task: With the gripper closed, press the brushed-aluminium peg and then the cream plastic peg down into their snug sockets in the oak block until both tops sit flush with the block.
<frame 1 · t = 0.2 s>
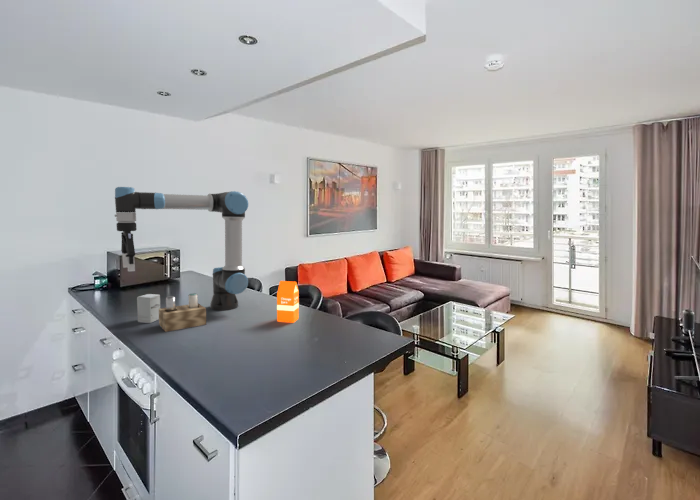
hand: (128, 269, 164), 28 cm above the counter, fingers open, 13 cm apart
supplement box: (149, 321, 181), on the counter
cream peg: (193, 302, 177), point 10 cm above the counter, slide at 6.0 cm
orange juice: (288, 320, 185), on the counter
oak socket block: (182, 324, 175), on the counter
aluminium peg: (170, 305, 170), point 10 cm above the counter, slide at 6.0 cm
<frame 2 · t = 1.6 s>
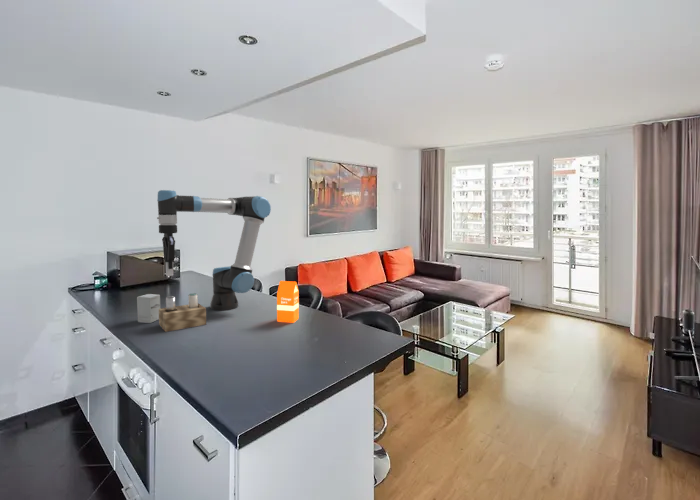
hand: (169, 275, 169), 24 cm above the counter, fingers closed
nothing on the counter moved.
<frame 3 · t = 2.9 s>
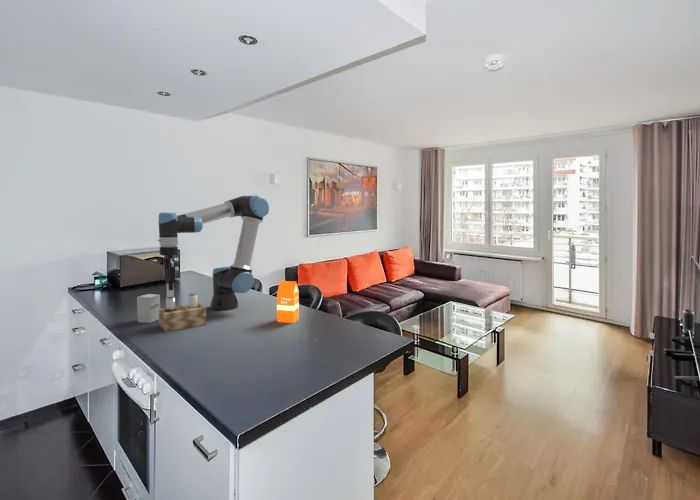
hand: (170, 296, 170), 14 cm above the counter, fingers closed
aluminium peg: (170, 305, 170), point 10 cm above the counter, slide at 5.9 cm, touching gripper
everything else where it was.
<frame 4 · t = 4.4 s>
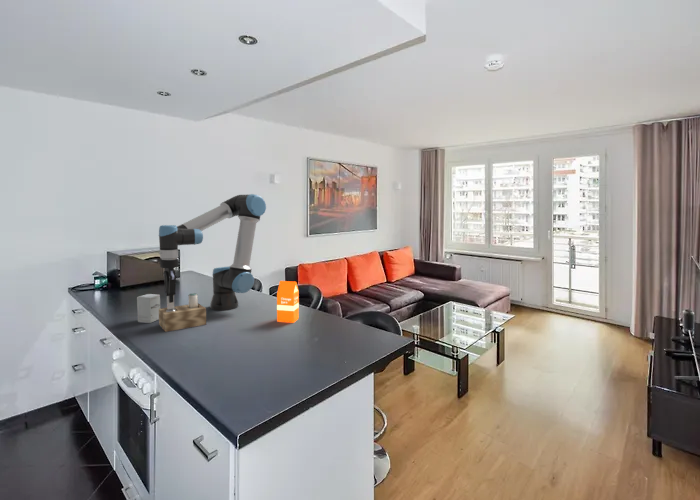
hand: (170, 308, 170), 9 cm above the counter, fingers closed
aluminium peg: (171, 317, 171), point 4 cm above the counter, slide at 0.1 cm, touching gripper
everything else where it was.
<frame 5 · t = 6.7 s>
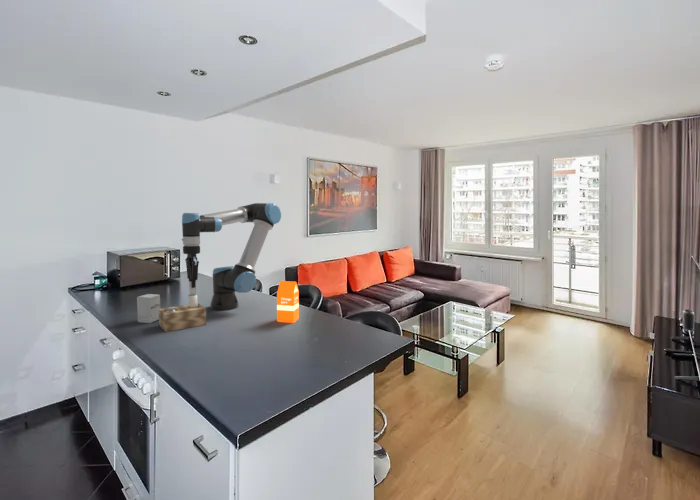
hand: (192, 293, 176), 14 cm above the counter, fingers closed
cream peg: (193, 302, 177), point 10 cm above the counter, slide at 5.9 cm, touching gripper
aluminium peg: (171, 317, 171), point 4 cm above the counter, slide at 0.1 cm
everything else where it was.
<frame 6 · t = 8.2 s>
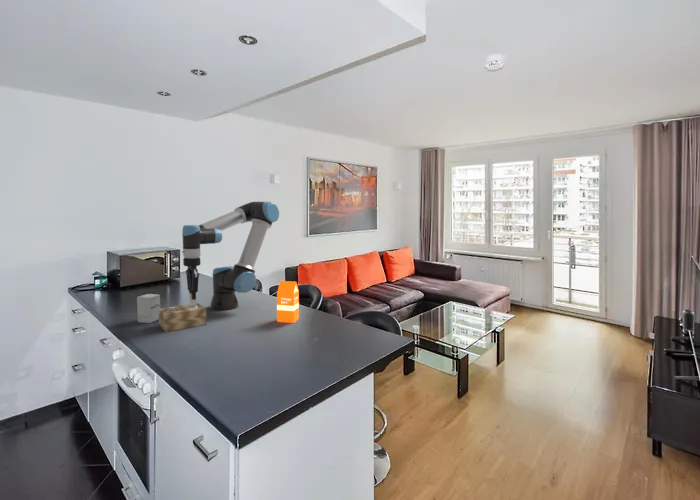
hand: (193, 305, 177), 9 cm above the counter, fingers closed
cream peg: (193, 314, 177), point 4 cm above the counter, slide at 0.1 cm, touching gripper
everything else where it was.
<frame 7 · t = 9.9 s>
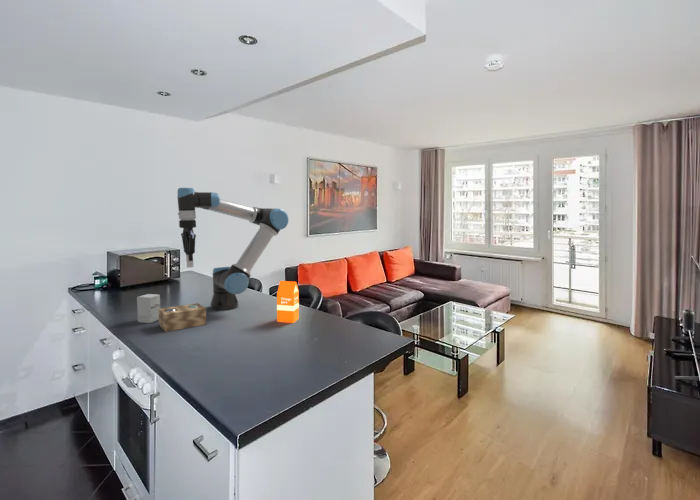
hand: (190, 267, 182), 26 cm above the counter, fingers closed
cream peg: (193, 314, 177), point 4 cm above the counter, slide at 0.1 cm
everything else where it was.
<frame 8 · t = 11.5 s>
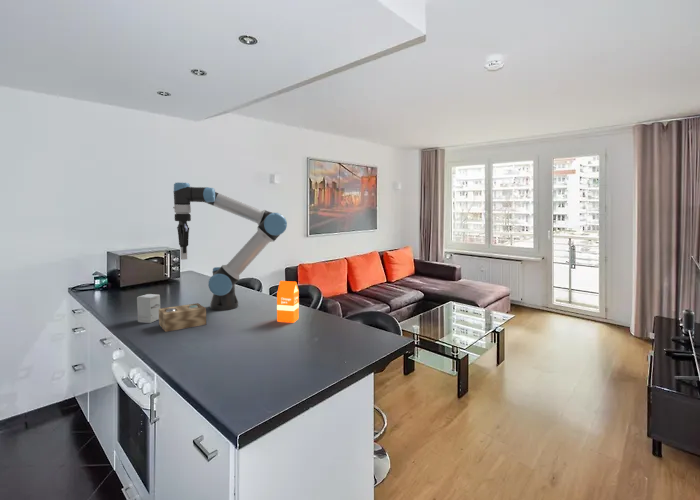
hand: (184, 259, 188), 29 cm above the counter, fingers closed
nothing on the counter moved.
at the end: aluminium peg slide at 0.1 cm; cream peg slide at 0.1 cm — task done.
